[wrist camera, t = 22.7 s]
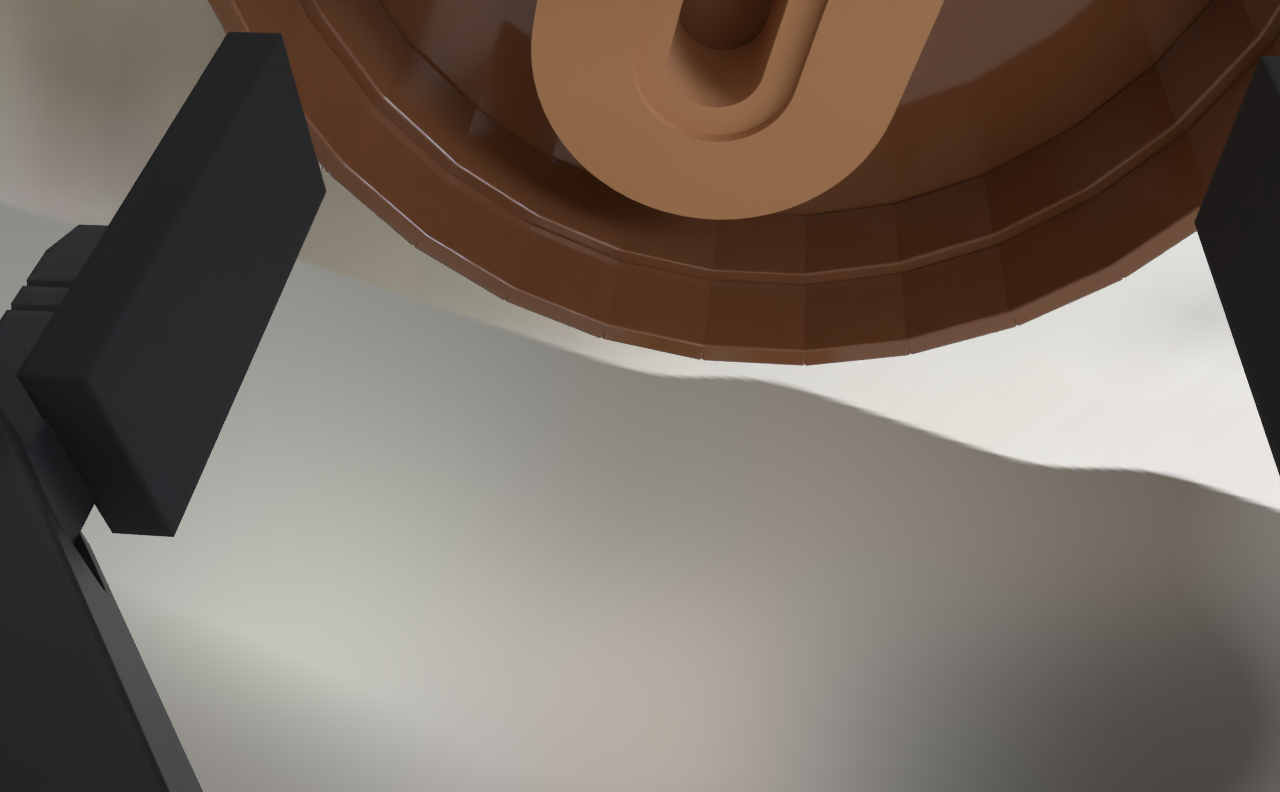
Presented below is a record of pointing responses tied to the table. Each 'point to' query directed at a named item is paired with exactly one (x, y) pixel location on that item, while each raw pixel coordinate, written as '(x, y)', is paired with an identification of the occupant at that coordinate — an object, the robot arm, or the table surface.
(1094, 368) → the table surface
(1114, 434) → the table surface
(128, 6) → the table surface
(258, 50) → the robot arm
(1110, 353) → the table surface
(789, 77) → the bracket
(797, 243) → the brown shallow bowl
